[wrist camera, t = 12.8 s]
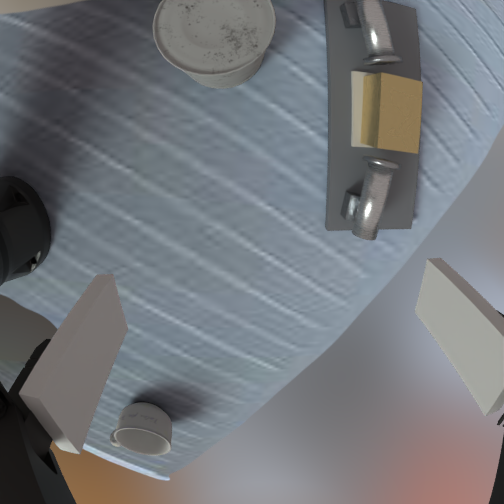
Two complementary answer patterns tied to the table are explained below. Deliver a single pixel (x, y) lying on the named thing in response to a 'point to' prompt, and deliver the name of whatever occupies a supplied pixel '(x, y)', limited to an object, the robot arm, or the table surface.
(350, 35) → the board
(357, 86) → the off-white flat plate
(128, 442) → the teacup
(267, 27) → the speckled tin can
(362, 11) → the shaft
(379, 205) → the shaft
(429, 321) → the robot arm
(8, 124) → the table surface
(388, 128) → the coupler
